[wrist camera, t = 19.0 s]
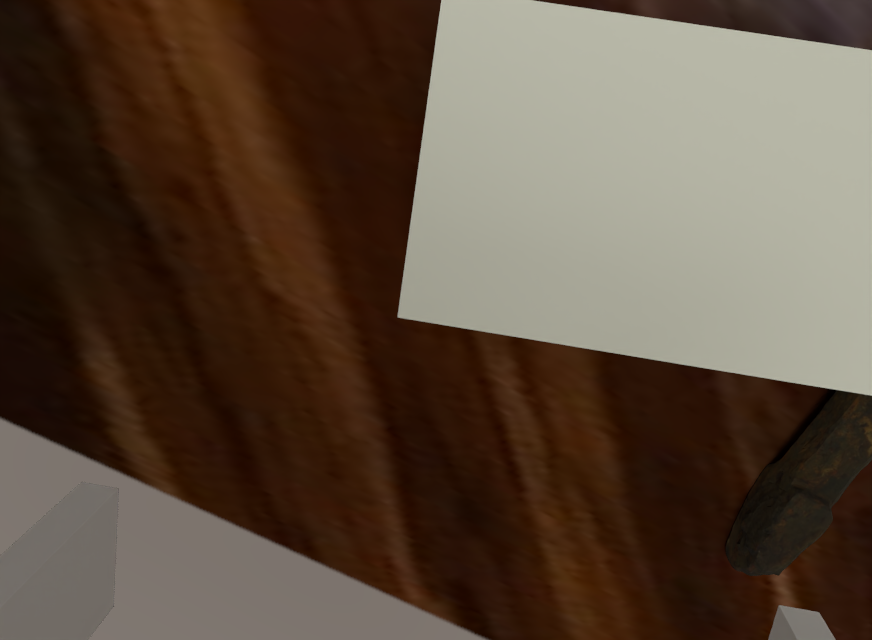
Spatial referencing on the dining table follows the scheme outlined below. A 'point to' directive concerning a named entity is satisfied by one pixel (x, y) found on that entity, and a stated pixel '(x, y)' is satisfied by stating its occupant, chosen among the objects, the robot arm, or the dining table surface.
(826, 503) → the hand tool
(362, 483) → the dining table surface
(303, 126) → the dining table surface
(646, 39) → the low shelf
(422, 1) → the dining table surface
